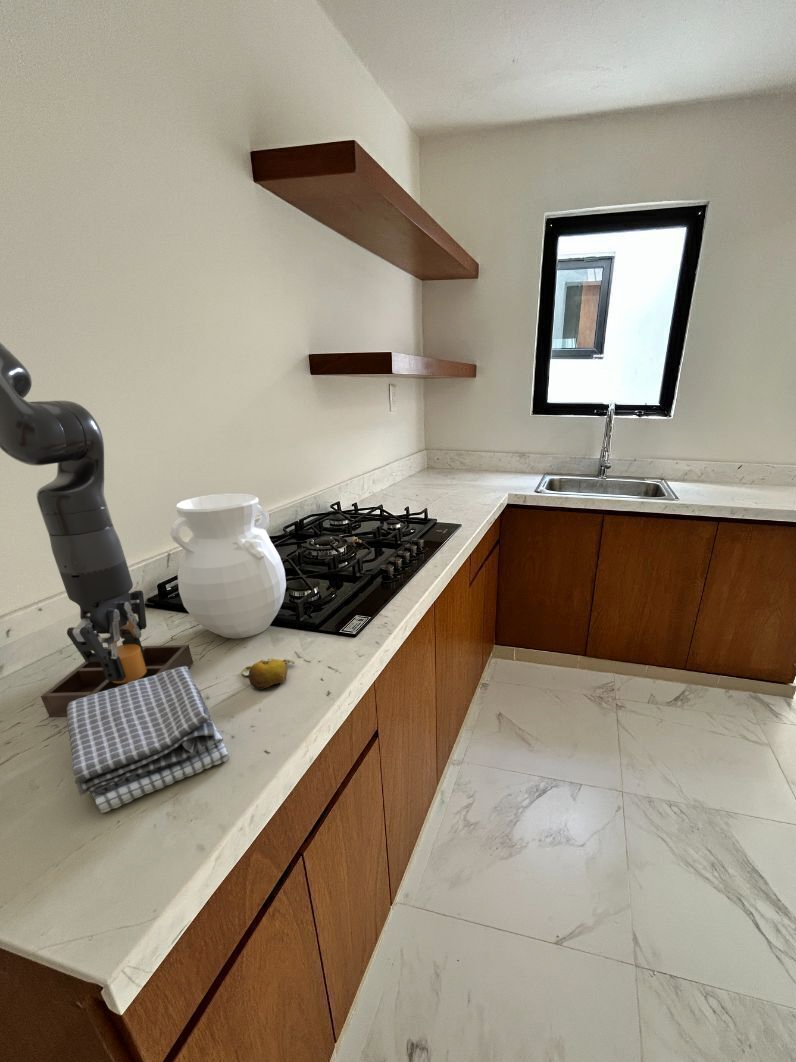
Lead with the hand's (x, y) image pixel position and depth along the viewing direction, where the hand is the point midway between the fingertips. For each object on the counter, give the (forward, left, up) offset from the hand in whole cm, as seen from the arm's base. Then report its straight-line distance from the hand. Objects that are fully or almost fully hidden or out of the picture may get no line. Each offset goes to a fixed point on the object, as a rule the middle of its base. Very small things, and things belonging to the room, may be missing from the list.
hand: (127, 670), depth 74 cm
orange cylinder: (0, 0, -1) cm, 1 cm away
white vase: (+8, +24, -5) cm, 26 cm away
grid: (-3, +3, -5) cm, 7 cm away
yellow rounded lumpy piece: (+19, +6, -5) cm, 20 cm away
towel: (+9, -12, -5) cm, 16 cm away
